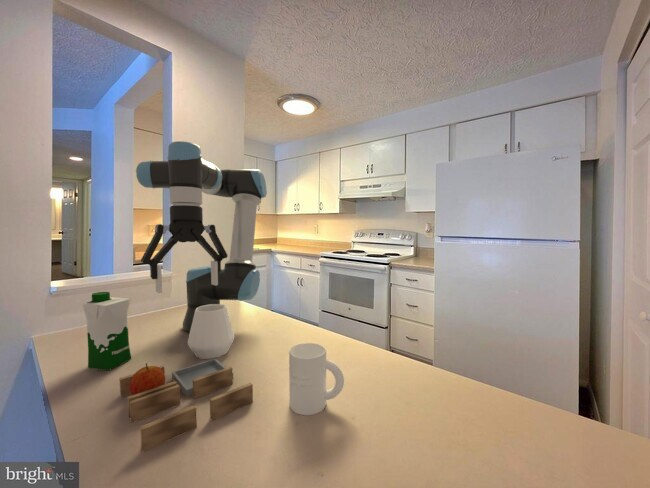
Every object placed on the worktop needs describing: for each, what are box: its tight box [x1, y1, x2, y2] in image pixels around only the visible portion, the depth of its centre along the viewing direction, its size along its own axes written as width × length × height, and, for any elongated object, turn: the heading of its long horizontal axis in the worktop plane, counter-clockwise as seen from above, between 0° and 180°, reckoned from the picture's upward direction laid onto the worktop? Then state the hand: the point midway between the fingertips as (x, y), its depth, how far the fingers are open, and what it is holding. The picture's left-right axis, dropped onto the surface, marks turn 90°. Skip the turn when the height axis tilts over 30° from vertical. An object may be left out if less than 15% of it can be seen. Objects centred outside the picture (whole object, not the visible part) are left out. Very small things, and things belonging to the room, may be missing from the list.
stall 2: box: [129, 385, 198, 453], centre depth 57 cm, size 9×11×4 cm
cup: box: [187, 303, 235, 360], centre depth 89 cm, size 13×13×14 cm
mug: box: [288, 342, 345, 416], centre depth 63 cm, size 8×12×12 cm
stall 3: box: [192, 366, 254, 421], centre depth 65 cm, size 9×11×4 cm
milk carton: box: [82, 291, 132, 371], centre depth 81 cm, size 9×9×20 cm
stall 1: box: [119, 365, 177, 419], centre depth 66 cm, size 9×11×4 cm
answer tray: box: [171, 358, 234, 398], centre depth 74 cm, size 11×11×2 cm
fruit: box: [129, 362, 166, 396], centre depth 65 cm, size 7×7×8 cm
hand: (188, 288), depth 75 cm, fingers open, 13 cm apart
